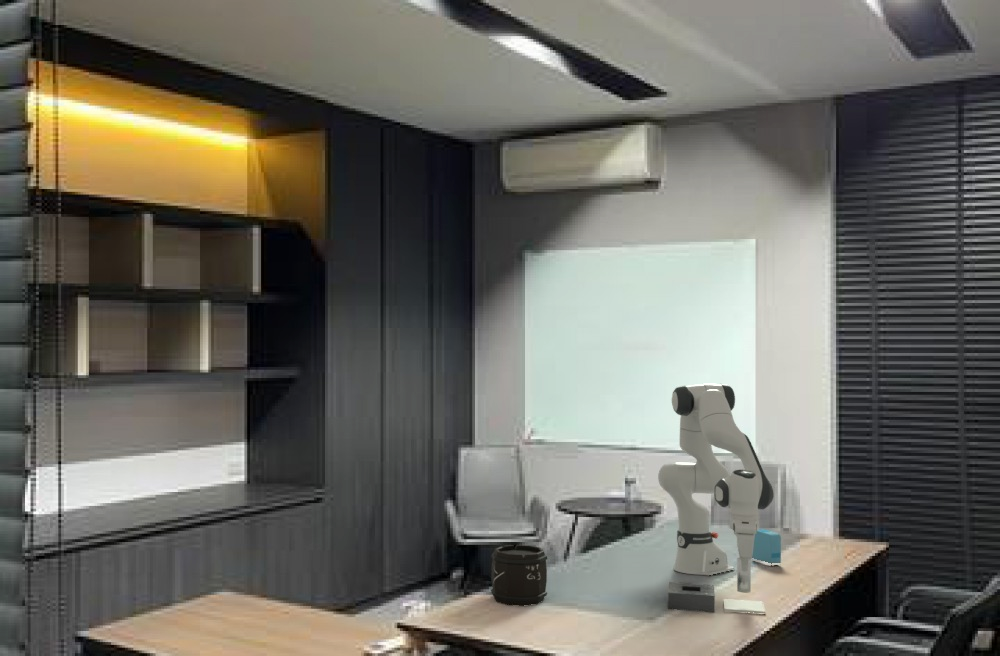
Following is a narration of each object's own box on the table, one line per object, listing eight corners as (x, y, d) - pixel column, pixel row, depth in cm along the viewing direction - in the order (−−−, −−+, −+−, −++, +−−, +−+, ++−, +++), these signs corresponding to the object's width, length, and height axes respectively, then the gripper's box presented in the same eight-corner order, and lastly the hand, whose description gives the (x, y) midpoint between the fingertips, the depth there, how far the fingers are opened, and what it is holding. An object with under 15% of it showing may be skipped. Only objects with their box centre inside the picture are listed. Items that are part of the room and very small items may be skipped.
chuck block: (669, 597, 300) (669, 581, 300) (713, 600, 297) (713, 584, 297) (667, 609, 286) (667, 592, 286) (714, 612, 283) (714, 595, 283)
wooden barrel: (504, 589, 307) (505, 541, 308) (554, 596, 299) (555, 547, 300) (479, 602, 291) (480, 551, 292) (531, 609, 283) (532, 557, 284)
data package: (781, 566, 347) (781, 534, 347) (770, 567, 345) (771, 534, 346) (761, 559, 358) (761, 528, 358) (751, 560, 356) (751, 529, 357)
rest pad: (723, 601, 295) (723, 598, 295) (762, 604, 293) (762, 601, 293) (724, 612, 283) (724, 608, 283) (765, 614, 281) (765, 611, 281)
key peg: (744, 588, 291) (744, 556, 291) (753, 591, 287) (753, 559, 287) (734, 590, 289) (734, 558, 289) (743, 593, 285) (743, 560, 286)
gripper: (732, 517, 299) (732, 560, 299) (735, 528, 279) (734, 574, 279) (752, 518, 298) (752, 561, 298) (756, 529, 278) (756, 576, 278)
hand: (744, 568), depth 288 cm, fingers closed on key peg, 4 cm apart
